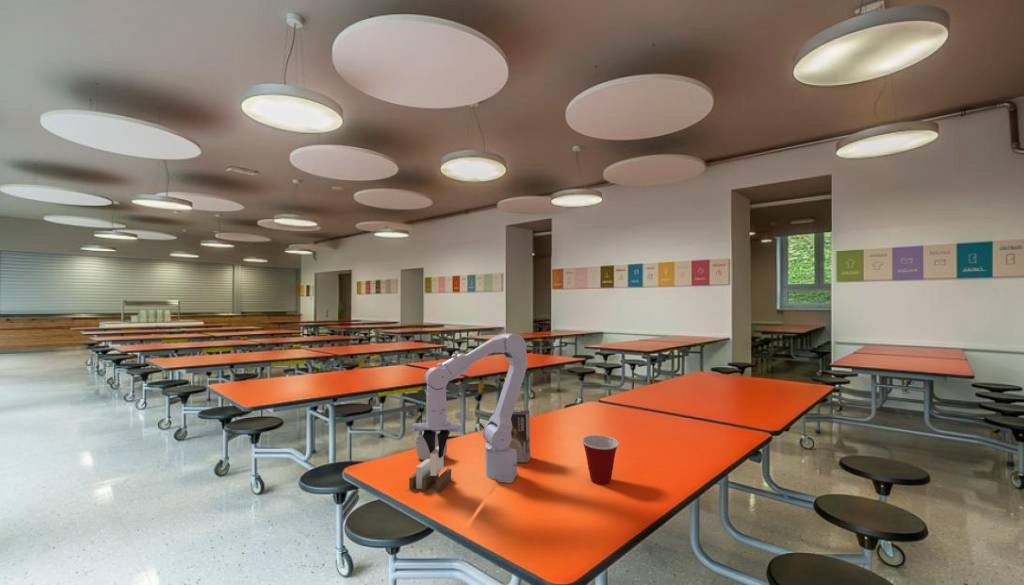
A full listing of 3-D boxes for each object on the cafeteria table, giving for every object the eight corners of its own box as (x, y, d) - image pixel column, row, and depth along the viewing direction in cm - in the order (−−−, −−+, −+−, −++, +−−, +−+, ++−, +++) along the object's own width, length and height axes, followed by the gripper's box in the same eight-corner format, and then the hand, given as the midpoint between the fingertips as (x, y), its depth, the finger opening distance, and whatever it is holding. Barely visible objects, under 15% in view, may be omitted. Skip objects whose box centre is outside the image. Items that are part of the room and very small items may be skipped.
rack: (453, 481, 129) (453, 467, 129) (439, 496, 118) (439, 481, 118) (423, 478, 131) (423, 465, 131) (406, 493, 120) (406, 479, 120)
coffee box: (531, 457, 149) (530, 410, 150) (527, 463, 143) (526, 414, 144) (505, 455, 151) (505, 409, 152) (501, 461, 145) (500, 413, 146)
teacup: (440, 465, 142) (440, 441, 143) (410, 464, 144) (409, 439, 145) (454, 452, 156) (454, 430, 156) (426, 450, 158) (426, 428, 158)
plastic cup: (597, 491, 120) (596, 447, 120) (575, 478, 129) (574, 437, 130) (628, 483, 124) (626, 441, 125) (604, 471, 134) (603, 432, 135)
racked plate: (432, 479, 128) (432, 459, 128) (422, 488, 121) (421, 467, 122) (426, 479, 129) (426, 458, 129) (416, 488, 122) (416, 466, 122)
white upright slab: (443, 466, 128) (443, 446, 128) (436, 475, 121) (436, 454, 121) (437, 466, 128) (437, 446, 128) (430, 475, 121) (430, 453, 121)
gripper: (464, 406, 128) (464, 452, 127) (417, 405, 130) (417, 451, 129) (458, 411, 121) (458, 460, 120) (408, 411, 123) (409, 459, 122)
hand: (436, 456), depth 124 cm, fingers closed on white upright slab, 2 cm apart
